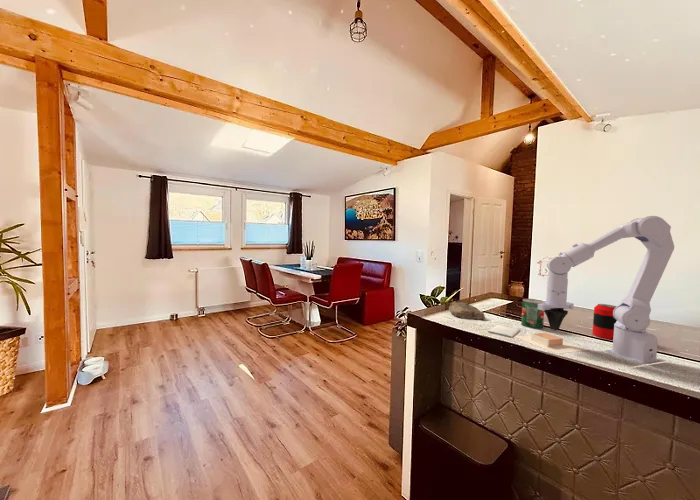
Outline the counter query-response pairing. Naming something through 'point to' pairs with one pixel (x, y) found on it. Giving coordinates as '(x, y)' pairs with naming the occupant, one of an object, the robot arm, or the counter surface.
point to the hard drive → (504, 331)
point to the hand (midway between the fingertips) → (554, 329)
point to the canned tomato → (532, 314)
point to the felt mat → (556, 349)
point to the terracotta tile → (547, 339)
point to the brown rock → (465, 311)
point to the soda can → (604, 321)
